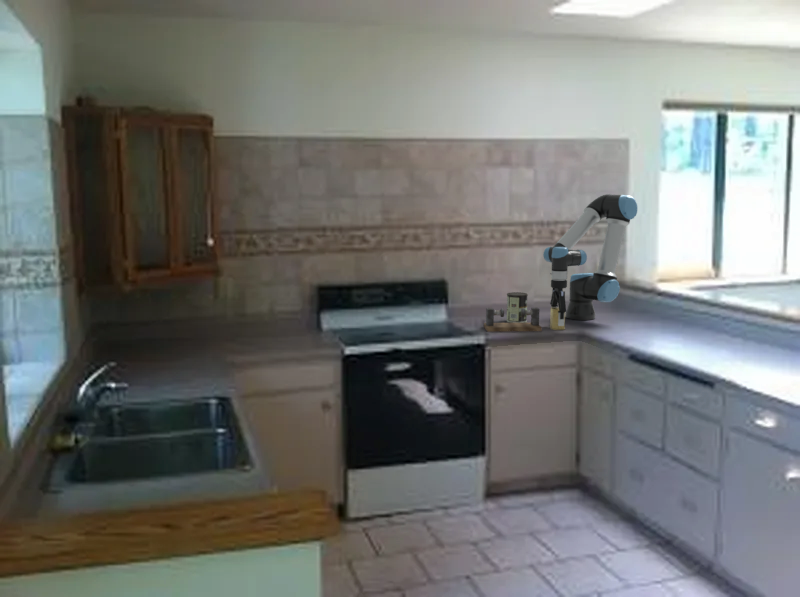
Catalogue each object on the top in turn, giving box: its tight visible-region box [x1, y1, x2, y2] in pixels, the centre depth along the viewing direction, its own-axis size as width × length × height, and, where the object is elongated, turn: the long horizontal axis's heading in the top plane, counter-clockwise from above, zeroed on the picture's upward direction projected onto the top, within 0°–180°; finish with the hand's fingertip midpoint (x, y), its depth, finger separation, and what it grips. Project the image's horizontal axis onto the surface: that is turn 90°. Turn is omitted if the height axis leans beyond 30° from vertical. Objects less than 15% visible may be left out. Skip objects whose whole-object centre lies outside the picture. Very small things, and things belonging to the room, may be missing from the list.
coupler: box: [549, 307, 566, 331], centre depth 386 cm, size 6×4×10 cm
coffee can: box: [506, 291, 529, 323], centre depth 403 cm, size 10×10×14 cm
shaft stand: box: [483, 307, 543, 333], centre depth 384 cm, size 26×11×10 cm, turn 93°
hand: (557, 323), depth 386 cm, fingers open, 13 cm apart
